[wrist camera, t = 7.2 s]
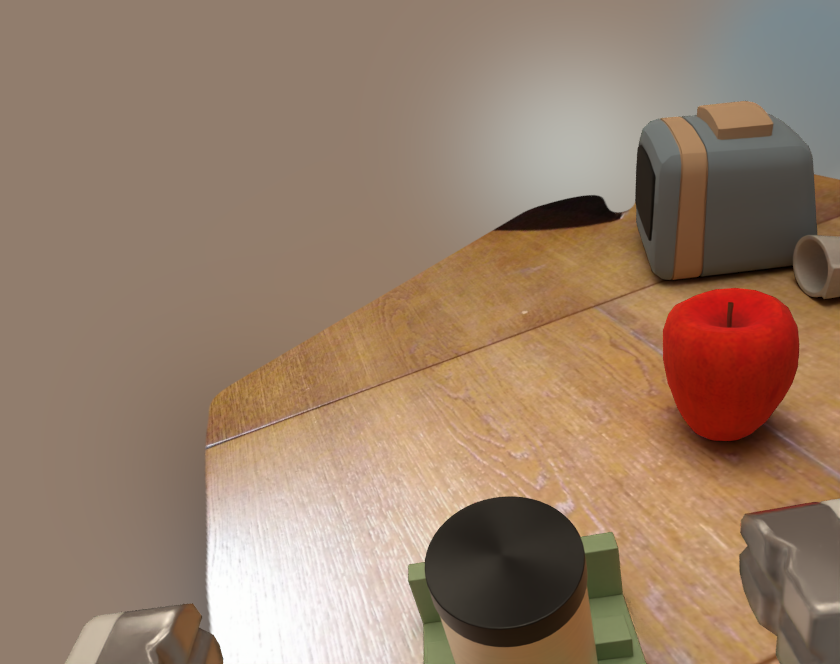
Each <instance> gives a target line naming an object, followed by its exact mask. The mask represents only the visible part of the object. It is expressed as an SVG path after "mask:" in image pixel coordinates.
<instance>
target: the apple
mask: <svg viewBox="0 0 840 664" xmlns="http://www.w3.org/2000/svg"><path fill="white" fill-rule="evenodd" d="M798 358H799V336H798V327H797V325H796V323H795V321H794V319H793V317H792V315H791V312H790V310H789V308H788V307H787V306H786V305H784V304H783V303H782V302H780V301H779V300H778V299H777V298H775V297H773V296H770V295H767V294H764V293H762V292H759V291H756V290H748V289H739V288H731V289H715V290H712V291H708V292H705V293H702V294H698V295H696V296H693V297H691V298H689V299H687V300H685V301H683V302H681V303H679V304H677V305H675V307H674V308H673V309H672V310H671V311H670V313H669V314H668V317H667V320H666V323H665V326H664V329H663V361H664V366H665V371H666V376H667V381H668V385H669V387H670V389H671V392H672V395H673V397H674V400H675V403H676V405H677V408H678V410H679V412H680V413H681V415H682V417H683V418H684V420H685V421H686V423H687V424H688V425H689V426H690V427H691V429H692V430H693V431H694V432H695V433H696V434H698V435H700V436H703V437H705V438H707V439H710V440H715V441H733V440H739V439H741V438H743V437H745V436H748V435H750V434H751V433H753V432H754V431H755V430H756V429H758V428H759V427H760V426H761V425H763V424H764V423H765V422H766V421H767V420H768V418H769V417H770V416H771V414H772V413H773V412H774V410H775V409H776V408H777V406H778V405H779V404H780V403H781V401H782V400H783V398H784V397H785V395H786V393H787V392H788V390H789V388H790V386H791V385H792V383H793V380H794V377H795V374H796V371H797V368H798Z"/></svg>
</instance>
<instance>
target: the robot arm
mask: <svg viewBox="0 0 840 664" xmlns="http://www.w3.org/2000/svg"><path fill="white" fill-rule="evenodd" d="M740 533H741V535H742V537H743V538H744V540H745V542H746V544H747V545H748V546H747V547H746V549H745V550H744V551H743V552H742V553H741V554H740V575H741V580H742V584H743V588H744V592H745V594H746V597H747V599H748V602H749V604H750V607H751V609H752V611H753V613H754V615H755V617H756V619H757V620H758V622H759V624H760V625H762V626H763V627H765V628H766V629H767V630H769V631H770V632H772V633H773V634H775V635H776V636H777V645H776V656H777V658H778V660H779V662H780V664H840V499H834V500H828V501H822V502H811V503H805V504H800V505H794V506H788V507H782V508H776V509H771V510H765V511H759V512H753V513H747V514H745V515H744V516H743V518H742V520H741V532H740ZM201 619H202V616H201V614H200V613H199V612H198V610H197V609H196V607H195V606H194V605H193V604H182V605H174V606H166V607H158V608H151V609H143V610H135V611H127V612H121V613H115V614H107V615H101V616H95V617H94V618H92V619H91V620H90V621H89V622H88V623H87V624H86V625H85V626H84V628H83V630H82V631H81V634H80V636H79V637H78V639H77V641H76V643H75V645H74V647H73V649H72V651H71V653H70V655H69V657H68V658H67V660H66V662H65V664H223V657H222V653H221V649H220V645H219V643H218V642H217V640H216V638H215V637H214V635H212V634H210V633H209V632H207V631H205V630H202V629H201V628H199V625H200V622H201Z"/></svg>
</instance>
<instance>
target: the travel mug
mask: <svg viewBox="0 0 840 664" xmlns="http://www.w3.org/2000/svg"><path fill="white" fill-rule="evenodd" d="M425 578H426V582H427V586H428V589H429V592H430V595H431V598H432V601H433V604H434V606H435V608H436V610H437V612H438V614H439V615H440V618H441V621H442V624H443V627H444V630H445V633H446V636H447V639H448V642H449V645H450V648H451V652H452V655H453V658H454V661H455V664H598V661H597V654H596V646H595V639H594V632H593V625H592V618H591V611H590V604H589V597H588V589H587V579H588V577H587V565H586V558H585V551H584V546H583V542H582V540H581V537H580V535H579V533H578V531H577V530H576V528H575V527H574V525H573V524H572V523H571V522H570V520H569V519H568V518H566V517H565V516H564V515H563V514H562V513H561V512H559V511H558V510H556V509H555V508H553V507H551V506H549V505H547V504H545V503H542V502H540V501H537V500H533V499H529V498H523V497H497V498H491V499H487V500H483V501H480V502H477V503H474V504H472V505H469V506H467V507H465V508H464V509H462V510H460V511H458V512H457V513H456V514H454V515H453V516H451V517H450V518H449V519H448V520H447V521H446V522H445V523H444V524H443V525H442V526H441V527H440V528H439V529H438V531H437V532H436V534H435V535H434V537H433V539H432V540H431V542H430V545H429V547H428V550H427V553H426V558H425Z"/></svg>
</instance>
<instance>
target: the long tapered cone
mask: <svg viewBox="0 0 840 664" xmlns="http://www.w3.org/2000/svg"><path fill="white" fill-rule="evenodd" d="M793 269H794V274H795V277H796V280H797V282H798V284H799V286H800V288H801V289H802V290H803V291H804V292H805V293H806V294H807V295H809V296H811V297H821V296H822V297H823V298H824V299H828V298H835V297H840V237H835V236H818V235H806V236H804V237H802V238H801V239H800V240H799V241H798V243H797V244H796V247H795V249H794V254H793Z"/></svg>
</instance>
